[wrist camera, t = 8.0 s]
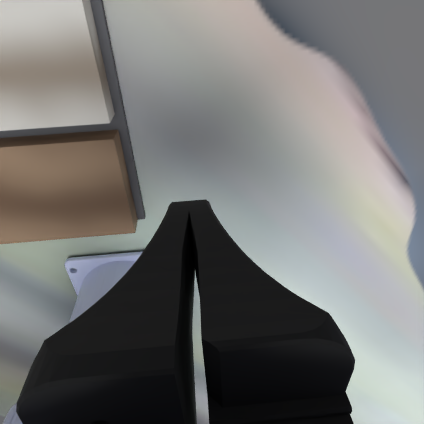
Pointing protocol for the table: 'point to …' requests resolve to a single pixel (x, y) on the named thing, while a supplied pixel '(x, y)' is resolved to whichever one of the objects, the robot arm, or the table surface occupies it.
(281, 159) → the table surface
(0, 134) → the underlay mat
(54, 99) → the plank
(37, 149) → the laid plank
